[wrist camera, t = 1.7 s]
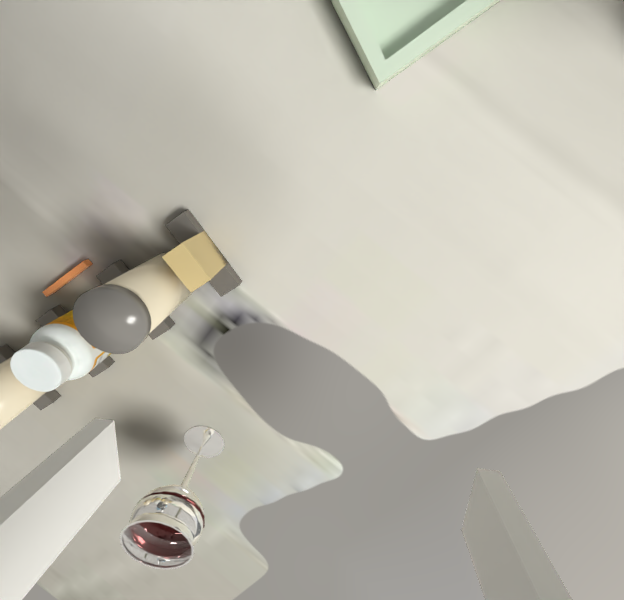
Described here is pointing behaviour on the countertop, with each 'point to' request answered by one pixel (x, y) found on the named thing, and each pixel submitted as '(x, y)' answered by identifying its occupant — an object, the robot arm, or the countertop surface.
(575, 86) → the countertop surface
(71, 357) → the supplement bottle
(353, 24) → the tray
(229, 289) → the fuse block
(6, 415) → the cylinder
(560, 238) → the countertop surface
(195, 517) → the wineglass
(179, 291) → the cream cylinder grey cap
